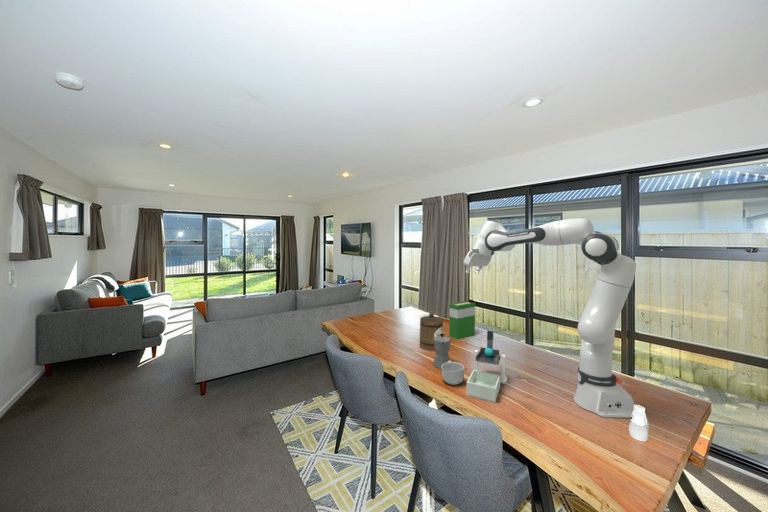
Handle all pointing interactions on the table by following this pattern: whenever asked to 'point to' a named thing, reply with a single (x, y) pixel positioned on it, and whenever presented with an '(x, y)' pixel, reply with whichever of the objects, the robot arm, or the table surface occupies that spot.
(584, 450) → the table surface
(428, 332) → the wooden container
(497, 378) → the bin
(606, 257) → the robot arm
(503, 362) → the lever frame
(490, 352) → the ball
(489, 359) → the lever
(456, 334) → the cereal box
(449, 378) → the teacup
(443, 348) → the coffeepot
